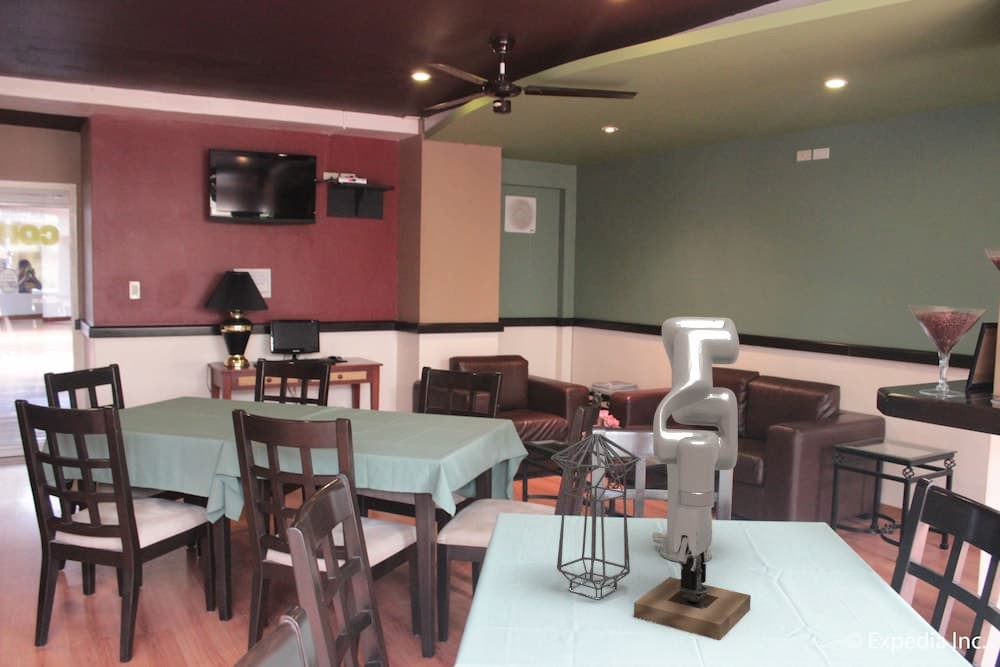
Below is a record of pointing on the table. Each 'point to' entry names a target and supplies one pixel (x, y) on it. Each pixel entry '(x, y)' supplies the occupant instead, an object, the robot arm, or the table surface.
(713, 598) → the stand
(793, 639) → the table surface
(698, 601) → the salt shaker
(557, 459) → the geometric lantern
